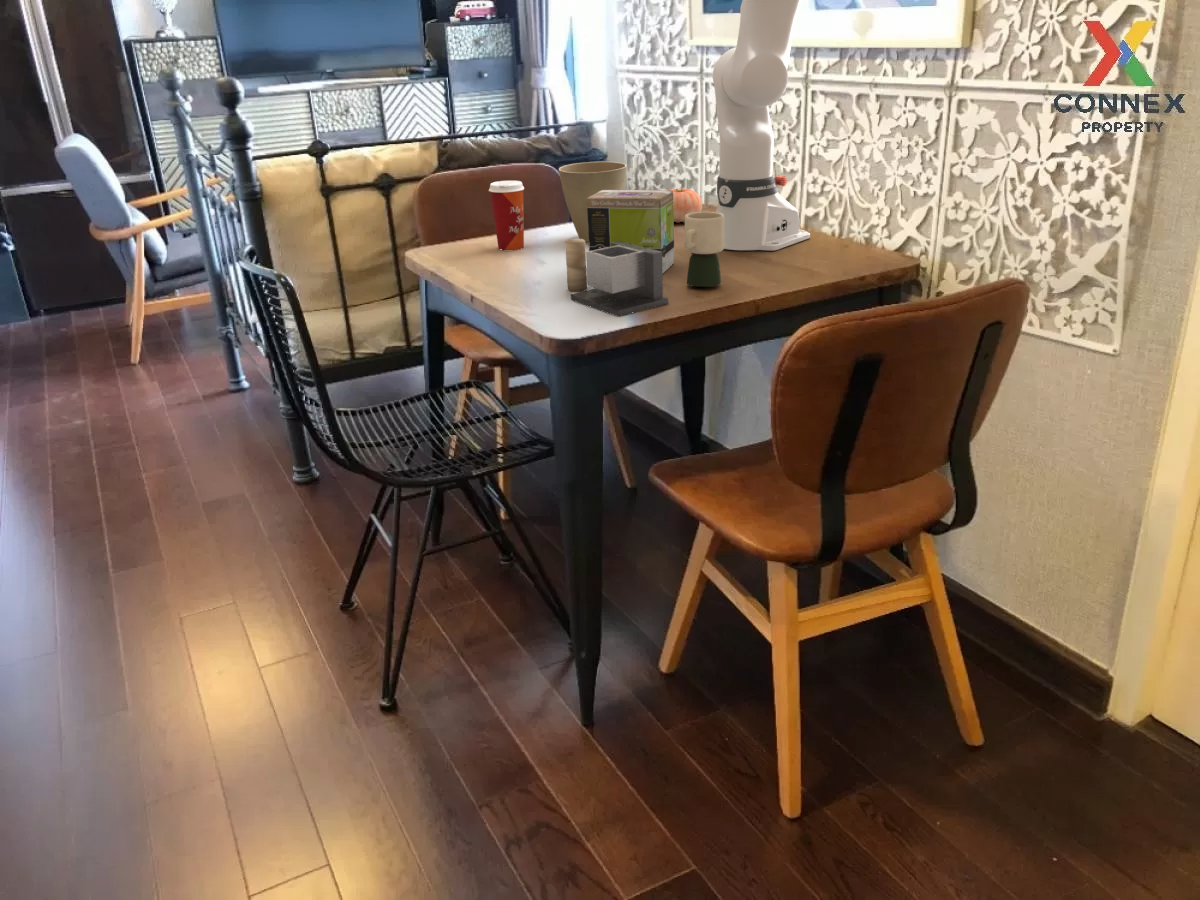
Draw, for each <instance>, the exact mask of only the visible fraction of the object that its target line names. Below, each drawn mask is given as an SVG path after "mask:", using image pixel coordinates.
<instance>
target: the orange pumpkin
mask: <svg viewBox="0 0 1200 900" xmlns="http://www.w3.org/2000/svg"><path fill="white" fill-rule="evenodd" d="M669 190H672V191H673V213H674V222H676V224H680V222H683V223H685V215H686V214H689V213H694V212H702V209H703V201H702V198H701V196H700V194H698V193H697V192H696V191H695V190H693V189H690V188H685V187H684V188H683V187H680V188H670V189H669Z"/></svg>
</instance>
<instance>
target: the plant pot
mask: <svg viewBox="0 0 1200 900" xmlns="http://www.w3.org/2000/svg"><path fill="white" fill-rule="evenodd" d="M558 172H559V173H558V174H559V177H560V183H561V187H562V192H563V197H564V200H565V203H566V206H567V209H568V213H569V216H570V218H571V221H572V224H573V226H574V229H575V231H576V234H577V236H578V239H584V240H585V243H588V244H589V240H588V219H587V198H588V197H590V196H592V195H594V194H596V193H598V192H600V191H602V190H625V185H626V176H627V164H625V163H623V162H618V161H589V162H579V163H578V162H576V163H571V164H565V165H563V166H560V167H559V168H558Z"/></svg>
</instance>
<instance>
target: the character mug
mask: <svg viewBox="0 0 1200 900" xmlns="http://www.w3.org/2000/svg"><path fill="white" fill-rule="evenodd" d="M683 229H684V235H685V241H684V245H683V246H684V248H685V250H686V252H687V251H688V252H689V253H690V254H691V255H690V257H689V262H688V268H687V273H686V275H687V276H686V285H687V286H693V287H694V286H695V287H697V288H698V287H701V288H702V287H707V288H709V287H717V286H720V285H721V283H722V278H721V266H720V260H719V259H720V257H719V256H718V254H717V253H720V252H722V251H723V250H724V249H723V247H724V214H722V213H718V212H716V211H700V212H694V213H689V214H686V215H685V222H684V228H683Z"/></svg>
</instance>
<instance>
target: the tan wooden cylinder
mask: <svg viewBox="0 0 1200 900" xmlns="http://www.w3.org/2000/svg"><path fill="white" fill-rule="evenodd" d="M564 243H565V261H566V280H567V281H566V282H567V283H566V284H567V291H569V292H573V293H578V292H582V291H584V290H585V291H587V290H588V285H587V262H586V242H585V240H584V239H580V238H568V239H566V240H565V241H564ZM586 289H587V290H586Z"/></svg>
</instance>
